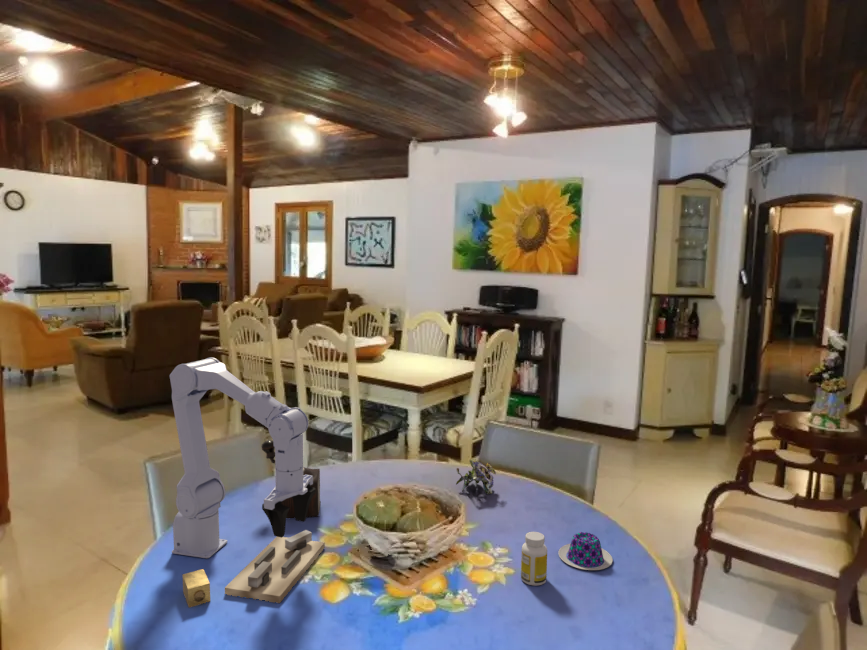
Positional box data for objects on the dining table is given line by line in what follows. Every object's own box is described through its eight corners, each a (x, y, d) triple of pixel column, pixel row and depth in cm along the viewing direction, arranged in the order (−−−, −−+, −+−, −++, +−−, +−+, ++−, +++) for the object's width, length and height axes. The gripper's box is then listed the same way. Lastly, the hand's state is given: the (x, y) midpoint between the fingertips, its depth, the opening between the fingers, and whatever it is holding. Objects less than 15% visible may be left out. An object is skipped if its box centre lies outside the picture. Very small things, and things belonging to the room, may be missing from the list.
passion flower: (488, 511, 170) (499, 488, 162) (451, 504, 170) (460, 481, 162) (488, 477, 179) (499, 454, 171) (453, 471, 178) (462, 448, 170)
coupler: (189, 609, 114) (188, 590, 113) (182, 591, 120) (182, 573, 119) (210, 603, 116) (210, 584, 115) (203, 586, 122) (202, 567, 121)
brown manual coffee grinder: (321, 499, 164) (320, 436, 162) (318, 517, 153) (318, 450, 151) (263, 501, 162) (262, 438, 160) (257, 520, 151) (255, 452, 149)
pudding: (548, 559, 135) (549, 537, 134) (575, 540, 144) (576, 520, 143) (596, 579, 127) (597, 556, 126) (621, 559, 135) (623, 537, 135)
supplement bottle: (548, 575, 127) (549, 532, 126) (544, 588, 122) (546, 544, 121) (523, 570, 129) (524, 528, 128) (518, 583, 124) (519, 539, 123)
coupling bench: (224, 594, 119) (224, 574, 118) (277, 542, 140) (276, 524, 139) (279, 603, 116) (279, 582, 115) (324, 548, 137) (324, 530, 137)
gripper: (283, 482, 116) (284, 547, 118) (324, 458, 130) (324, 517, 131) (254, 476, 119) (256, 540, 121) (297, 453, 132) (298, 511, 134)
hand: (290, 528), depth 126 cm, fingers open, 7 cm apart
